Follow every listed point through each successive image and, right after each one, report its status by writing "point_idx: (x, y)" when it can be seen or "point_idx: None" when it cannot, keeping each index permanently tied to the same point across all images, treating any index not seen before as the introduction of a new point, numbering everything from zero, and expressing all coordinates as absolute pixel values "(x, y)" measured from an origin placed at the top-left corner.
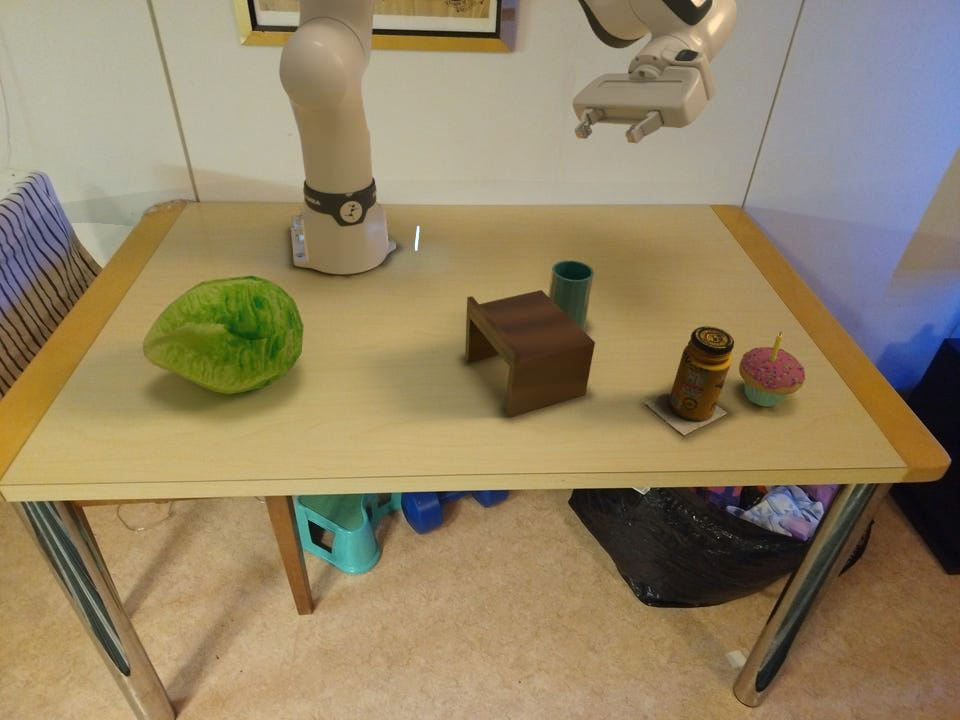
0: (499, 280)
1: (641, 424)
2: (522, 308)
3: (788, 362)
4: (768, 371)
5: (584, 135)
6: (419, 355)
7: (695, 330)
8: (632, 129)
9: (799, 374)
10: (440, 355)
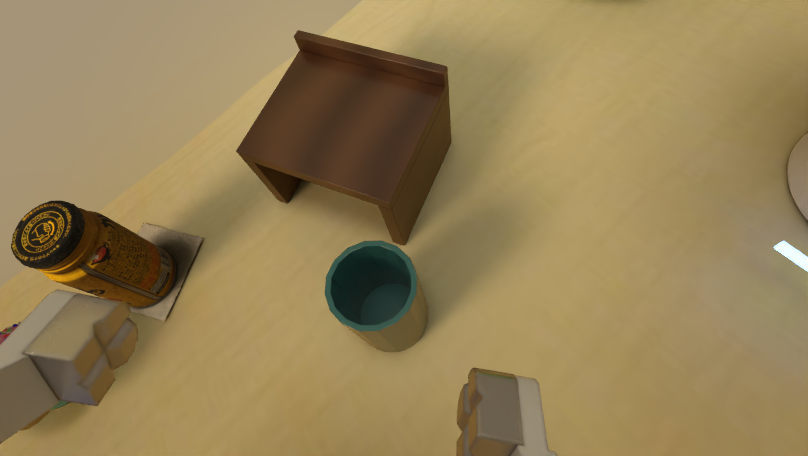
0: (594, 353)
1: (195, 205)
2: (377, 137)
3: None
4: (6, 335)
5: (464, 392)
6: (501, 104)
7: (72, 225)
8: (67, 317)
9: None
10: (481, 123)
